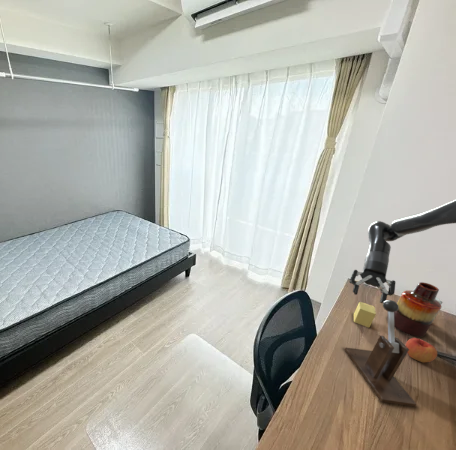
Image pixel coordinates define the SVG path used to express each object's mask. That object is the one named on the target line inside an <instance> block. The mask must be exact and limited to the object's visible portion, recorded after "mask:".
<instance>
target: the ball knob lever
mask: <svg viewBox="0 0 456 450" xmlns="http://www.w3.org/2000/svg"><path fill="white" fill-rule="evenodd" d="M382 307H383V309H384V310H385V311H387V340H388V341H389V342H390V343H391V345H392V346H393V347H394V349H393V351H392V353H399V343H396V342H395V337H396V335H395V334H396V332H395V327H394V312H396V311H397V310H398V309H399V306H398V304H397V302H396V301H394V300H391V299H386V301H384V302H383V303H382Z"/></svg>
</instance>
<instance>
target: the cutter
mask: <svg viewBox="0 0 456 450" xmlns="http://www.w3.org/2000/svg"><path fill="white" fill-rule="evenodd" d="M395 342H396V343H399V353H392V351H393V349H394V347H393V346H392V345H391V343H390V342H389V341H388V338H386V337H385V336H384V335H379V337H378V339H377V340H376V342H375V344H374V346H373V348H372V350H367V349H359V348H351V347H345V348H344V351H345V352H346V354H347V355H348V356H349V358H350V359H351V361H352V363H353V364H354V365H355V367H356V368H357V369H358V371H359V373H361V375H362V376H363V378H364V379H365V381H366V382H367V384H368V386H370V388H371V389H372V391H373V393H374V394H375V395H376V396H377V398H378V400H379V401H380V402H381V403H388V404H393V405H394V404H395V405H401V406H408V407H416V405H417V403H416V402H415V400H414V399H413V398H412V397H411V396H410V394H409V393H408V392H407V391H406V390H405V388H404V387H403V386H402V385H401V384H400V382H399V381H398V380H397V379H396V378H395V374H396V373H397V371H398V369H399V367H400V366H401V364H402V362H403V361H404V359H405V358H406V356H407V355H408V353H407V352H408V351H409V349H408V348H407V347H406V344H405V343H403V341H402V340H401V339H399V338H398V337H396V336H395Z"/></svg>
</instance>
